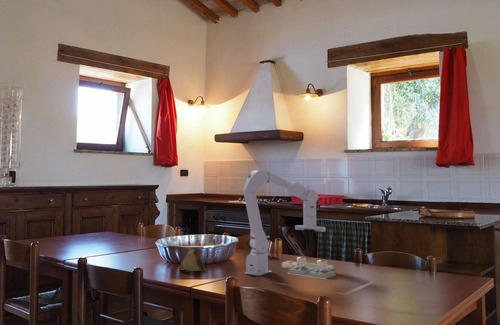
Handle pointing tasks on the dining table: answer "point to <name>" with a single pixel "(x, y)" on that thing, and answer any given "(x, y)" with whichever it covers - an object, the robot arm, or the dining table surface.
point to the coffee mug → (266, 237)
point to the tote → (315, 266)
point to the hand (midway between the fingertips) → (310, 247)
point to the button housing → (288, 265)
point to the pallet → (311, 273)
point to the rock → (192, 262)
